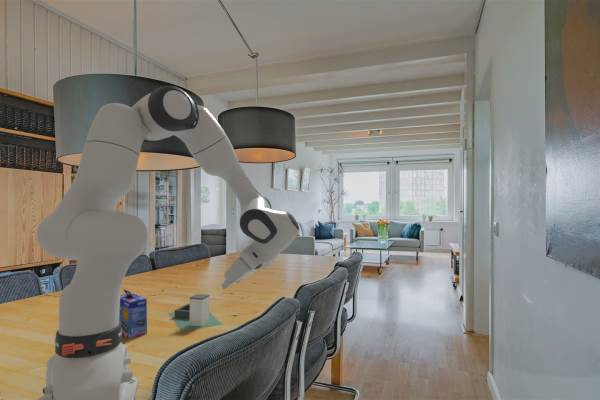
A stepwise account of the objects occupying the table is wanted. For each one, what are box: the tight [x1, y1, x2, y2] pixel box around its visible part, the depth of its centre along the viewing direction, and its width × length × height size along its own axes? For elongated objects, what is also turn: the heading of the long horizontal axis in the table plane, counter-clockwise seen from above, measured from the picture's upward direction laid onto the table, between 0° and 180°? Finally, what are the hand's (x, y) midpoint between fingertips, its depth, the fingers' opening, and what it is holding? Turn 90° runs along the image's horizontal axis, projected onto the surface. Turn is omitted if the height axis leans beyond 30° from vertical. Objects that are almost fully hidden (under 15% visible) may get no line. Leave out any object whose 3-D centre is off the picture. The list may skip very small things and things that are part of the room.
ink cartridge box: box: [119, 289, 148, 339], centre depth 106 cm, size 10×6×14 cm, turn 51°
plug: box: [189, 293, 210, 327], centre depth 114 cm, size 4×4×9 cm
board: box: [168, 303, 224, 332], centre depth 119 cm, size 21×13×4 cm, turn 31°
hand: (230, 284), depth 112 cm, fingers open, 8 cm apart
